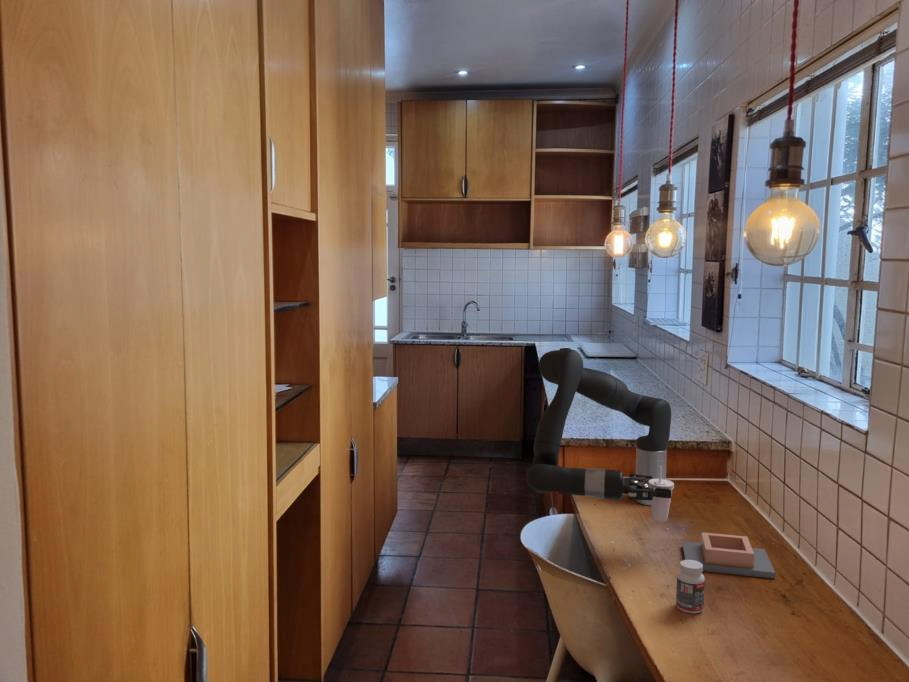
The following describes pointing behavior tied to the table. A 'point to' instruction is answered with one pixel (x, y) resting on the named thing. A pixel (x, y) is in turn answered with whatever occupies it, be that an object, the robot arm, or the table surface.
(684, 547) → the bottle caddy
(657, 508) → the smoothie
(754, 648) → the table surface
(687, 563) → the pill bottle
